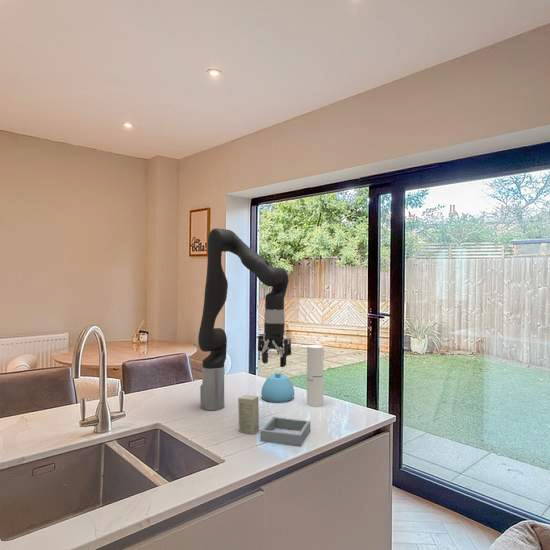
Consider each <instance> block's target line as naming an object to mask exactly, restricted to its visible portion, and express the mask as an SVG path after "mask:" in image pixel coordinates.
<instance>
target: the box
mask: <svg viewBox="0 0 550 550" xmlns="http://www.w3.org/2000/svg"><path fill="white" fill-rule="evenodd" d="M275 428H276V429H283V430H292V431H299V433H292V432H285V431H278V430H277V431H276V430H275ZM259 430H260V432H259V433H260V439H259V440H260V442H266V443H272V444H274V443H275V444H279V445H289V446H295V447H302V445H303V444H304V442H305V440H306V439H307V437H308V435H309V433H310V432H311V420H304V419H303V420H302V419H294V418H286V417H275V416H273V417H272V418H271V419H270V420H269V421H268V422H267V423H266V424H264V426H263V427H261V429H259Z"/></svg>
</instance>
